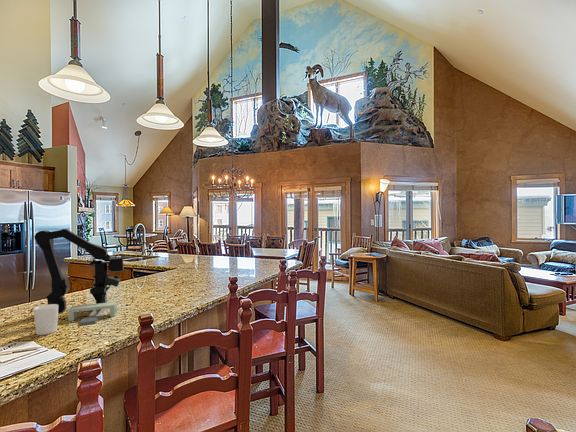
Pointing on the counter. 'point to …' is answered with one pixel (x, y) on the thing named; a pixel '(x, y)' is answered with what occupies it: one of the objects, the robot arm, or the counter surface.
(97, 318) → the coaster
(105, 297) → the grey hammer
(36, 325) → the white cup
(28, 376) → the counter surface
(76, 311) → the bracket
